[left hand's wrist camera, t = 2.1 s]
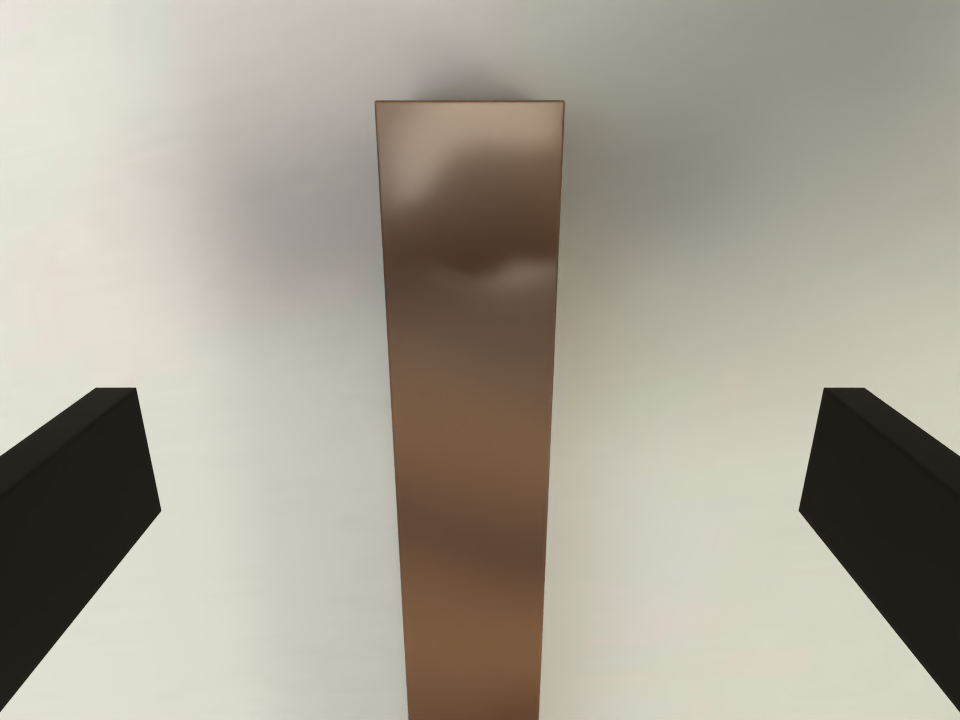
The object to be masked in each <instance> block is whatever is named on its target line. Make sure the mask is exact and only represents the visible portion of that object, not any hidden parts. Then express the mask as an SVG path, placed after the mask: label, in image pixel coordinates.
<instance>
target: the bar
mask: <svg viewBox="0 0 960 720" xmlns="http://www.w3.org/2000/svg"><path fill="white" fill-rule="evenodd" d="M564 110H565V102H564V101H563V100H379V101H375V118H376V137H377V155H378V173H379V191H380V209H381V228H382V246H383V264H384V282H385V300H386V319H387V337H388V355H389V373H390V391H391V410H392V428H393V446H394V464H395V482H396V501H397V519H398V537H399V555H400V574H401V592H402V610H403V628H404V646H405V665H406V683H407V701H408V719H409V720H539V701H540V677H541V654H542V630H543V606H544V583H545V559H546V536H547V512H548V488H549V465H550V441H551V417H552V394H553V370H554V346H555V323H556V299H557V275H558V252H559V228H560V204H561V181H562V157H563V134H564Z"/></svg>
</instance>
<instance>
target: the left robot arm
mask: <svg viewBox="0 0 960 720" xmlns="http://www.w3.org/2000/svg"><path fill="white" fill-rule="evenodd" d="M160 512H161V507H160V502H159V497H158V492H157V487H156V482H155V477H154V473H153V468H152V463H151V458H150V453H149V448H148V443H147V439H146V434H145V429H144V424H143V419H142V414H141V409H140V405H139V400H138V395H137V390H136V388H95V389H93V390H92V391H91V392H89V393H88V394H86V395H85V396H84V397H82V398H81V399H79V400H78V401H77V402H75V403H74V404H73V405H71V406H70V407H68V408H67V409H66V410H64V411H63V412H61V413H60V414H59V415H57V416H56V417H54V418H53V419H52V420H50V421H49V422H47V423H46V424H45V425H43V426H42V427H40V428H39V429H38V430H36V431H35V432H33V433H32V434H31V435H29V436H28V437H26V438H25V439H24V440H22V441H21V442H19V443H18V444H17V445H15V446H14V447H12V448H11V449H10V450H8V451H7V452H5V453H4V454H3V455H1V456H0V712H1V710H2V709H3V708H4V707H5V705H6V704H7V703H8V702H9V700H10V699H11V698H12V697H13V695H14V694H15V693H16V692H17V690H18V689H19V688H20V687H21V685H22V684H23V683H24V682H25V680H26V679H27V678H28V677H29V675H30V674H31V673H32V672H33V671H34V669H35V668H36V667H37V666H38V664H39V663H40V662H41V661H42V659H43V658H44V657H45V656H46V654H47V653H48V652H49V651H50V649H51V648H52V647H53V646H54V644H55V643H56V642H57V641H58V639H59V638H60V637H61V636H62V634H63V633H64V632H65V631H66V629H67V628H68V627H69V626H70V624H71V623H72V622H73V621H74V619H75V618H76V617H77V616H78V614H79V613H80V612H81V611H82V609H83V608H84V607H85V606H86V604H87V603H88V602H89V601H90V599H91V598H92V597H93V596H94V594H95V593H96V592H97V591H98V589H99V588H100V587H101V586H102V584H103V583H104V582H105V581H106V579H107V578H108V577H109V576H110V574H111V573H112V572H113V571H114V569H115V568H116V567H117V566H118V564H119V563H120V562H121V561H122V559H123V558H124V557H125V556H126V554H127V553H128V552H129V551H130V549H131V548H132V547H133V546H134V544H135V543H136V542H137V541H138V539H139V538H140V537H141V536H142V534H143V533H144V532H145V531H146V529H147V528H148V527H149V526H150V524H151V523H152V522H153V521H154V519H155V518H156V517H157V516H158V514H159V513H160ZM799 512H800V513H801V514H802V516H803V517H804V518H805V519H806V521H807V522H808V523H809V524H810V526H811V527H812V528H813V529H814V531H815V532H816V533H817V534H818V536H819V537H820V538H821V539H822V541H823V542H824V543H825V544H826V546H827V547H828V548H829V549H830V551H831V552H832V553H833V554H834V556H835V557H836V558H837V559H838V561H839V562H840V563H841V564H842V566H843V567H844V568H845V569H846V571H847V572H848V573H849V574H850V576H851V577H852V578H853V579H854V581H855V582H856V583H857V584H858V586H859V587H860V588H861V589H862V591H863V592H864V593H865V594H866V596H867V597H868V598H869V599H870V601H871V602H872V603H873V604H874V606H875V607H876V608H877V609H878V611H879V612H880V613H881V614H882V616H883V617H884V618H885V619H886V621H887V622H888V623H889V624H890V626H891V627H892V628H893V629H894V631H895V632H896V633H897V634H898V636H899V637H900V638H901V639H902V641H903V642H904V643H905V644H906V646H907V647H908V648H909V649H910V651H911V652H912V653H913V654H914V656H915V657H916V658H917V659H918V661H919V662H920V663H921V664H922V666H923V667H924V668H925V669H926V671H927V672H928V673H929V674H930V676H931V677H932V678H933V679H934V680H935V682H936V683H937V684H938V685H939V687H940V688H941V689H942V690H943V692H944V693H945V694H946V695H947V697H948V698H949V699H950V700H951V702H952V703H953V704H954V705H955V707H956V708H957V709H958V710H959V712H960V456H959V455H957V454H956V453H955V452H953V451H952V450H950V449H949V448H948V447H946V446H945V445H943V444H942V443H941V442H939V441H938V440H936V439H935V438H934V437H932V436H931V435H929V434H928V433H927V432H925V431H924V430H922V429H921V428H920V427H918V426H917V425H915V424H914V423H913V422H911V421H910V420H908V419H907V418H906V417H904V416H903V415H901V414H900V413H899V412H897V411H896V410H894V409H893V408H892V407H890V406H889V405H887V404H886V403H885V402H883V401H882V400H881V399H879V398H878V397H876V396H875V395H874V394H872V393H871V392H869V391H868V390H867V389H865V388H824V390H823V395H822V400H821V405H820V409H819V414H818V419H817V424H816V429H815V434H814V439H813V443H812V448H811V453H810V458H809V463H808V468H807V473H806V477H805V482H804V487H803V492H802V497H801V502H800V507H799Z"/></svg>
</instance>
